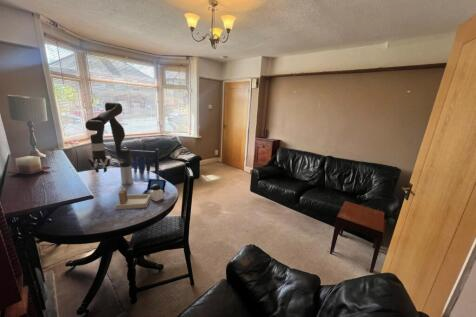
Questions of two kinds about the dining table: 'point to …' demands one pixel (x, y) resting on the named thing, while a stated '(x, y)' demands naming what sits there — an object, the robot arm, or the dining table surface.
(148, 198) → the tray
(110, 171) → the dining table surface
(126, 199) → the slab
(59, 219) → the dining table surface
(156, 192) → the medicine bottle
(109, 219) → the dining table surface
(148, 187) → the handheld game console
